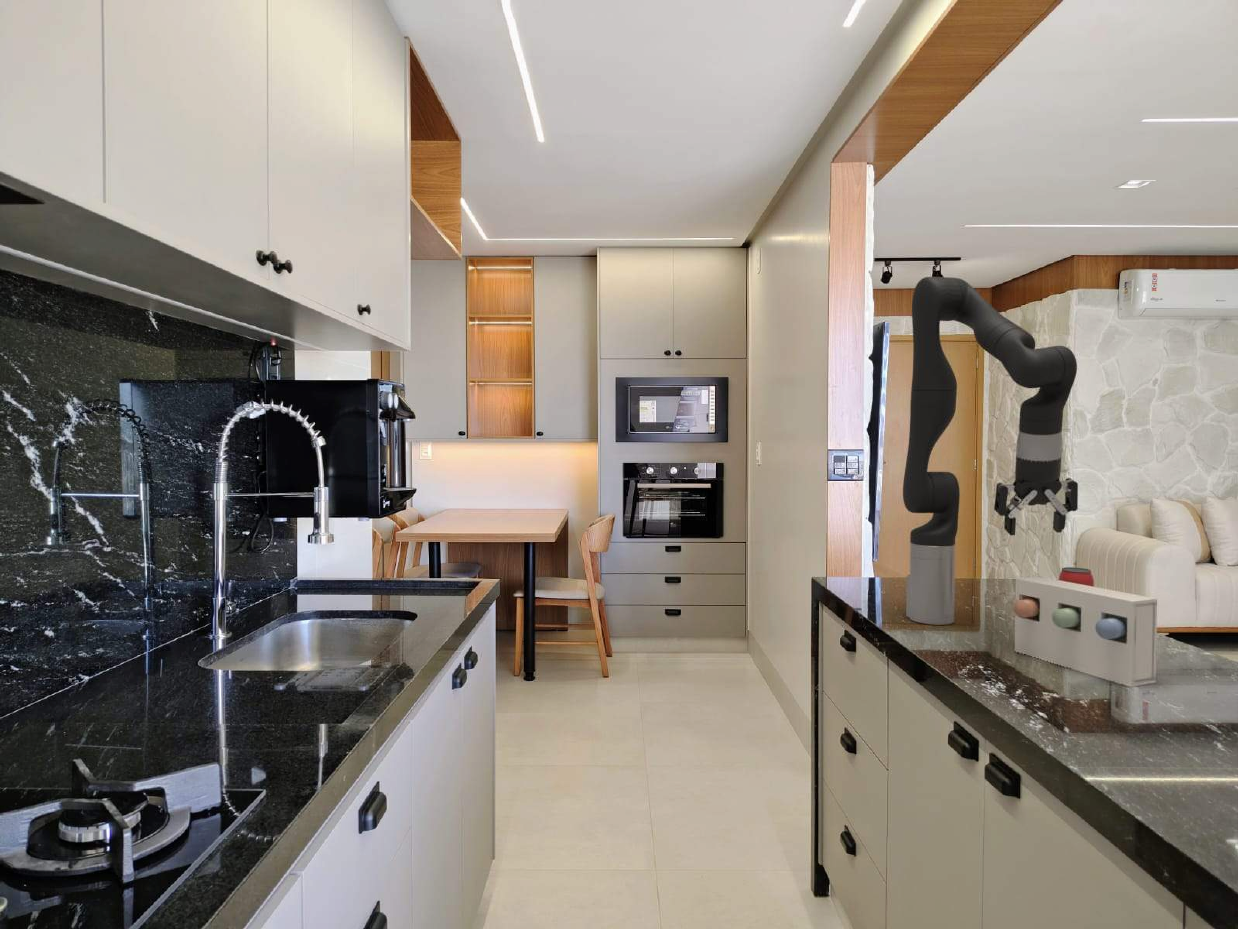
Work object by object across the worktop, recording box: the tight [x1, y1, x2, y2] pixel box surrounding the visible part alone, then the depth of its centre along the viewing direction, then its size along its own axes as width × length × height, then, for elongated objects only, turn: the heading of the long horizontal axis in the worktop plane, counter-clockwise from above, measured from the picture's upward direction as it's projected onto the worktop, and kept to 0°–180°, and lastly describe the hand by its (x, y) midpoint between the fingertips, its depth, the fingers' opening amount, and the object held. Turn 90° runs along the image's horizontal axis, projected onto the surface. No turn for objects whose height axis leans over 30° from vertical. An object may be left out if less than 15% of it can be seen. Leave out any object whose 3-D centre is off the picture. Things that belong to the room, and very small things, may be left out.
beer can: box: [1058, 566, 1095, 587], centre depth 164 cm, size 7×7×12 cm
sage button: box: [1052, 608, 1081, 628], centre depth 131 cm, size 3×4×3 cm
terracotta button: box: [1012, 599, 1040, 618], centre depth 139 cm, size 3×4×3 cm
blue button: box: [1095, 617, 1127, 639], centre depth 124 cm, size 3×4×3 cm
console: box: [1014, 575, 1158, 688], centre depth 133 cm, size 22×6×14 cm, turn 22°
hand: (1033, 532), depth 146 cm, fingers open, 8 cm apart
